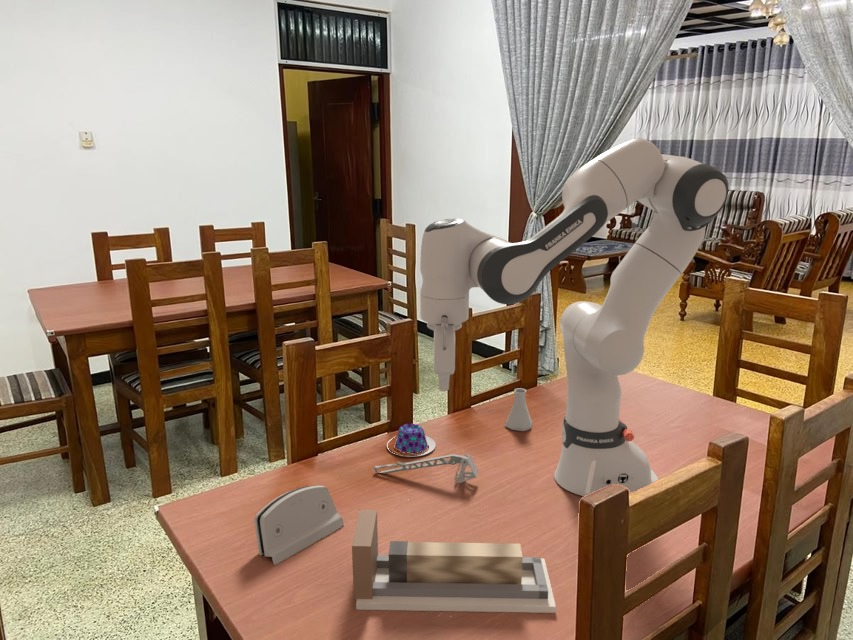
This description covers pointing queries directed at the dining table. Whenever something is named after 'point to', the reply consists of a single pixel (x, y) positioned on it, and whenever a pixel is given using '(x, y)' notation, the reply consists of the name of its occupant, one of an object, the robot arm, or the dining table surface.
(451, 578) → the wooden block
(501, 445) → the dining table surface
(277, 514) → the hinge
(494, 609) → the slot board
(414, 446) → the pudding
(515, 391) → the flask
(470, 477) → the bracket
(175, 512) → the dining table surface
